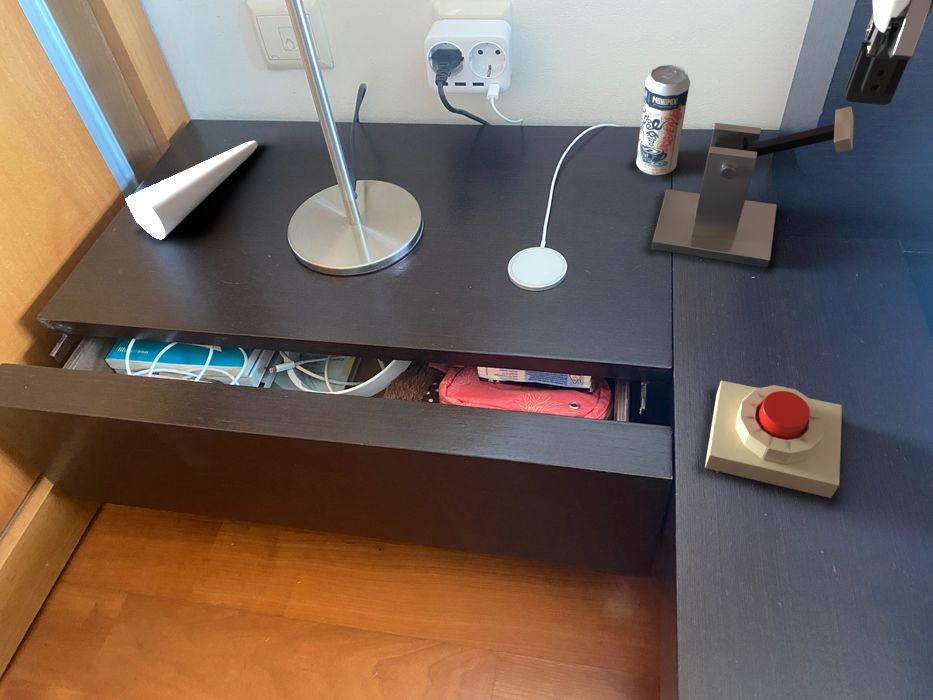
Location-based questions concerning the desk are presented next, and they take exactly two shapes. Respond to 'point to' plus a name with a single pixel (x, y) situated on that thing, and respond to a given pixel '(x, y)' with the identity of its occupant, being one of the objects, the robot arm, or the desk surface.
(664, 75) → the beer can
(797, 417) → the button
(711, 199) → the bracket
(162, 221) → the long cone
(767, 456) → the switch block
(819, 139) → the lever
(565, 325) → the desk surface
